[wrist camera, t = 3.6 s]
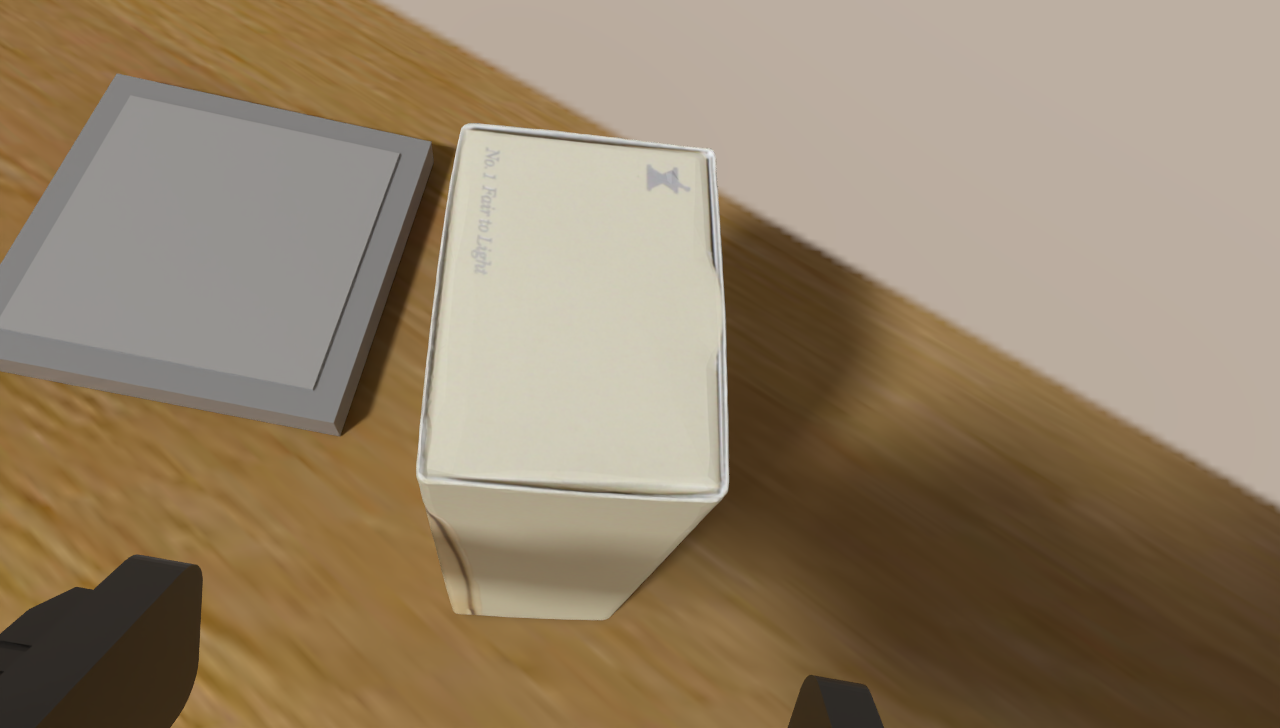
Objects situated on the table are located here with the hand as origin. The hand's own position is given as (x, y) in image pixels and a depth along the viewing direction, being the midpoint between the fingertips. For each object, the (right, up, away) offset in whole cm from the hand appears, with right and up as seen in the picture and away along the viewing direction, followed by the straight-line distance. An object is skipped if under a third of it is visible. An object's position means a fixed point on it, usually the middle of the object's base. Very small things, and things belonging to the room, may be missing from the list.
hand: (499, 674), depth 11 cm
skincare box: (-1, 0, +12) cm, 12 cm away
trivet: (-11, +8, +14) cm, 19 cm away
